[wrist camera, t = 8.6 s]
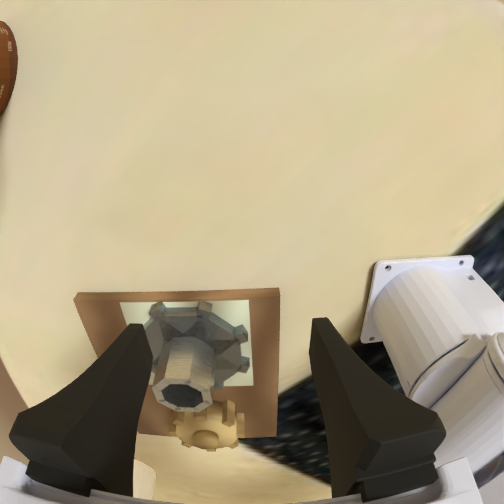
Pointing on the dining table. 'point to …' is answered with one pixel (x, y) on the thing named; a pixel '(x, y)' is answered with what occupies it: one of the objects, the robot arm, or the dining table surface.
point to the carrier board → (235, 388)
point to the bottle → (143, 481)
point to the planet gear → (192, 354)
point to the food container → (7, 64)
